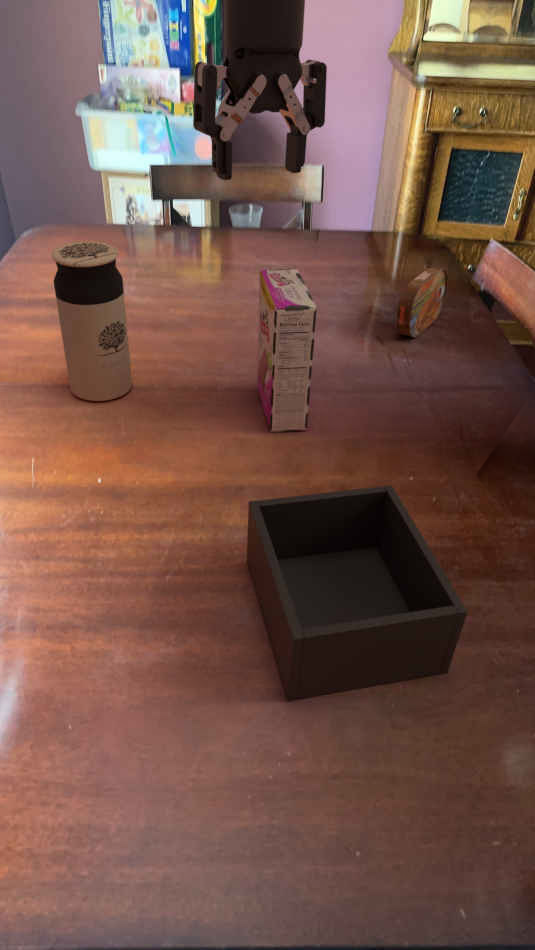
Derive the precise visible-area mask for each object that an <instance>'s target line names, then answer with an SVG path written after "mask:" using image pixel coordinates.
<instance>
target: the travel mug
mask: <svg viewBox="0 0 535 950" xmlns="http://www.w3.org/2000/svg"><path fill="white" fill-rule="evenodd" d="M118 256H119V251H118V249H117V248H116V247H115V246H114V245H111V244H109V243H106V242H100V241H91V240H89V241H87V240H86V241H85V240H83V241H74V242H69V243H65V244H62V245H59V246H57V247H56V248H54V249H53V250H52V252H51V258H52V260H53V261H54V262H55V265H56V268H57V270H56V273H55V275H54V278H53V287H54V293H55V299H56V306H57V312H58V319H59V326H60V332H61V339H62V345H63V350H64V351H63V352H64V358H65V365H66V372H67V376H68V384H69V389H70V392H71V393H72V394H73V395H74V396H75V397H77V398H79V399H82V400H86V401H93V402H103V401H111V400H115V399H117V398H120V397H123V396H124V395H125V394H127V393H129V391H130V390H131V389H132V386H133V378H132V366H131V355H130V345H129V335H128V334H129V333H128V321H127V310H126V302H125V300H126V299H125V289H124V278H123V276H122V274H121V272H120V271H119V269H118V268H117V258H118Z"/></svg>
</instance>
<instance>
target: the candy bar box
mask: <svg viewBox="0 0 535 950" xmlns="http://www.w3.org/2000/svg"><path fill="white" fill-rule="evenodd" d="M258 285H259V288H258V289H259V291H258V332H257V333H258V335H257V337H258V339H257V373H256V374H257V376H256V388H257V392H258V395H259V398H260V402H261V405H262V408H263V412H264V415H265V419H266V422H267V425H268V429H269V432H270V433H284V432H285V433H287V432H302V431H307V430H308V421H309V408H310V399H311V396H310V395H311V385H312V372H313V370H312V369H313V361H314V360H313V359H314V349H315V347H314V346H315V336H316V335H315V334H316V322H317V311H318V306H317V304H316V302H315V300H314V298H313V297H312V294H311V293H310V291H309V288H308V287H307V285H306V283H305V281H304V279H303V277H302V275H301V273H300V271H299V270H298V268H290V269H289V268H287V269H284V268H277V269H270V268H267V269H261V270H259V284H258Z"/></svg>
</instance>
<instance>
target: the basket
mask: <svg viewBox="0 0 535 950" xmlns="http://www.w3.org/2000/svg"><path fill="white" fill-rule="evenodd" d="M396 491H397V490H395V488H394V486H393V485H392V484H389V485H381V486H380V485H379V486H373V487H364V488H357V489H356V488H355V489H346V490H337V491H329V492H320V493H312V494H303V495H293V496H285V497H277V498H269V499H267V498H266V499H261V500H260V499H259V500H250V501H248V511H247V513H248V514H247V537H246V539H247V542H246V563H247V564H246V565H247V568H248V571H249V574H250V578H251V581H252V586H253V588H254V592H255V595H256V599H257V602H258V605H259V609H260V613H261V616H262V619H263V623H264V626H265V630H266V633H267V636H268V640H269V644H270V647H271V650H272V653H273V657H274V660H275V664H276V667H277V671H278V674H279V678H280V681H281V684H282V687H283V691H284V695H285V698H286V701H287V702H292V701H298V700H303V699H308V698H314V697H321V696H325V695H331V694H337V693H342V692H347V691H353V690H359V689H364V688H369V687H375V686H381V685H386V684H387V685H388V684H393V683H397V682H403V681H408V680H414V679H419V678H420V679H421V678H426V677H431V676H437V675H442V674H447V673H449V669H450V666H451V664H452V660H453V657H454V654H455V651H456V648H457V645H458V642H459V639H460V636H461V633H462V631H463V627H464V625H465V621H466V619H467V616H468V613H469V611H468V609H467V607H466V605H465V604H464V603H463V601H462V599H461V598H460V596H459V594H458V593H457V591H456V589H455V588H454V586H453V584H452V583H451V581H450V579H449V578H448V576H447V574H446V573H445V571H444V569H443V567H442V566H441V564H440V563H439V561H438V559H437V558H436V556H435V555H434V553H433V551H432V550H431V548H430V546H429V545H428V543H427V541H426V540H425V538H424V536H423V535H422V533H421V531H420V530H419V528H418V526H417V524H416V522H415V521H414V520H413V518H412V516H411V515H410V513H409V511H408V510H407V508H406V507H405V504H404V503H403V501H402V499H401V498H400V496H399V495H398V493H397V492H396Z"/></svg>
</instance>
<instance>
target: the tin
mask: <svg viewBox="0 0 535 950" xmlns="http://www.w3.org/2000/svg"><path fill="white" fill-rule="evenodd" d="M448 282H449V277H448V271H447V270H446V269H445V268H442V269H440V268H434V267H428V268H426V269H425V270H422V271H421V273H419V274H418V275H416V276H415V277H414V278H413V279H412V280H410V281H409V282H408V283H407V284H406V285H405V286H404V288H403V290H402V291H401V293H400V297H399V299H398V302H397V313H396V323H395V328H396V331H397V333H399V334H401V335H404V336H408V337H411V338H414V339H415V338H417V337H419V336H420V335H421V334H422V333H423V332H424V331H425V330H426V329H427V328H428V327H430V325H432V324H433V323H434V322H435V321H436V320H437V318H438V317H439V316H440V313H441V311H442V309H443V306H444V303H445V300H446V296H447V291H448Z"/></svg>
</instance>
